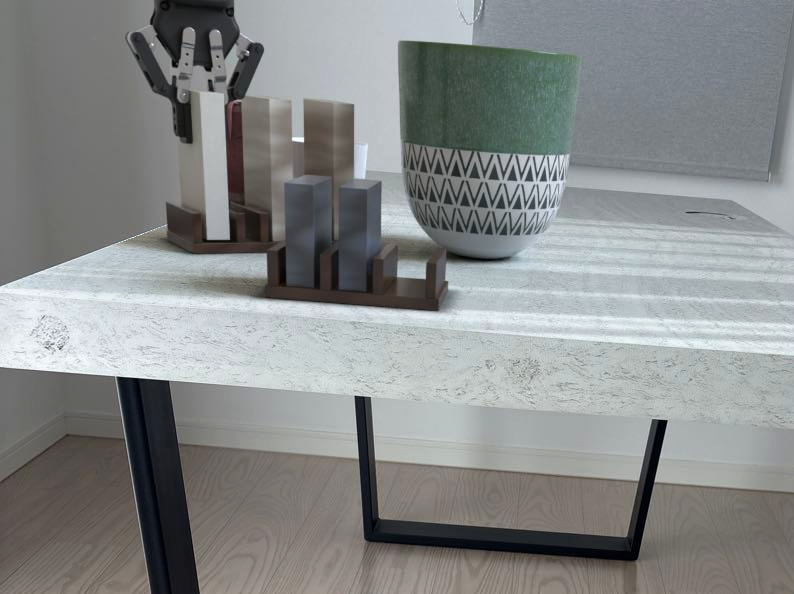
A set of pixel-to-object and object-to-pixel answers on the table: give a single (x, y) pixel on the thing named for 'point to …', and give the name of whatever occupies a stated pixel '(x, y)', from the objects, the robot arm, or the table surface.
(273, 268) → the desk organizer with blocks
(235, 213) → the brown book rack
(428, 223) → the planter
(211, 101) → the white book
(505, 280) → the table surface
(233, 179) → the dark red upright block
